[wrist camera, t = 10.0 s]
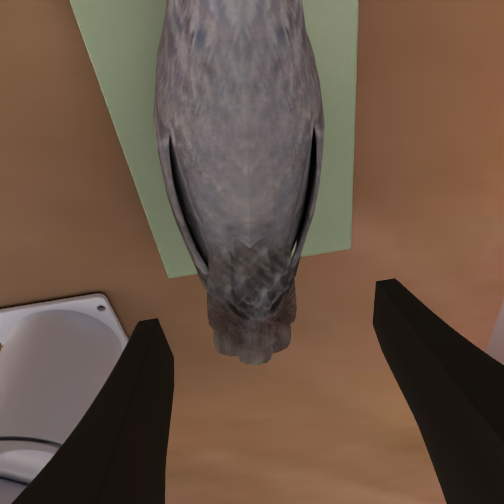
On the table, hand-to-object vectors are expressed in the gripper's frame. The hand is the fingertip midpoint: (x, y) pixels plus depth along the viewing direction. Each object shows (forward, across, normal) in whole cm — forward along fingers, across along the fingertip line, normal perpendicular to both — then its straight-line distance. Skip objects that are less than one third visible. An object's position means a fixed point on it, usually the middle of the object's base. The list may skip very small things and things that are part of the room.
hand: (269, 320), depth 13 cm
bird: (+8, 0, -6) cm, 10 cm away
